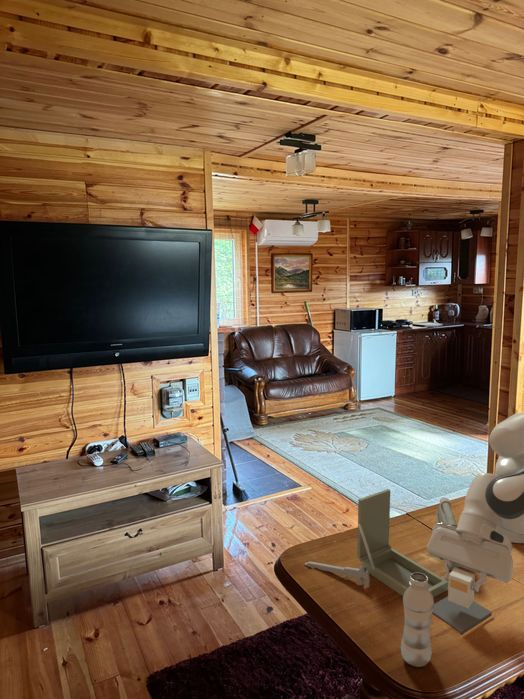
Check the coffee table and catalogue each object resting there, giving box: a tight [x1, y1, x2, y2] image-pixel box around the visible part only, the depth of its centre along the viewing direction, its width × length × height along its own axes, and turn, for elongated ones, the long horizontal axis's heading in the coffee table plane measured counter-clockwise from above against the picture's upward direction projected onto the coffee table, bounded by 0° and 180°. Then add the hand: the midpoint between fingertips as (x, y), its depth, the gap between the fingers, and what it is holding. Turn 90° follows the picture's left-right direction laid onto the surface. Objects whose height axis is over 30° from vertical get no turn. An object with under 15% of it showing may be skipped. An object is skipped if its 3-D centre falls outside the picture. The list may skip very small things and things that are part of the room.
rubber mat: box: [432, 595, 493, 636], centre depth 125 cm, size 12×10×1 cm
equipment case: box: [356, 488, 449, 599], centre depth 137 cm, size 13×22×21 cm, turn 33°
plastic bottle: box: [400, 572, 435, 668], centre depth 109 cm, size 6×7×20 cm
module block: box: [447, 567, 476, 609], centre depth 123 cm, size 4×5×7 cm
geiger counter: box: [435, 497, 459, 571], centre depth 153 cm, size 14×6×25 cm
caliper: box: [303, 561, 371, 589], centre depth 140 cm, size 20×1×6 cm, turn 54°
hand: (460, 585), depth 123 cm, fingers closed on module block, 5 cm apart
